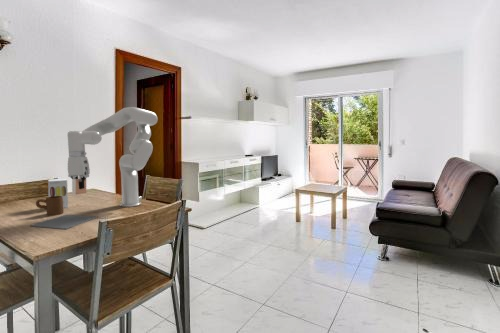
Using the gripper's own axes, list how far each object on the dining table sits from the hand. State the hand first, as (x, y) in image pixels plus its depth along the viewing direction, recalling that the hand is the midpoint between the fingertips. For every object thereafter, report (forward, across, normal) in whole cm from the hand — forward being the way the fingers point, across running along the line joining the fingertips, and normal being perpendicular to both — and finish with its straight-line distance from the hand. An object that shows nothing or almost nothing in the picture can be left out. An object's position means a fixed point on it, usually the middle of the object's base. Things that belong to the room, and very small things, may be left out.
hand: (79, 188), depth 153 cm
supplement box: (+15, +25, -10) cm, 31 cm away
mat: (+14, -4, +14) cm, 20 cm away
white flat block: (+3, 0, 0) cm, 3 cm away
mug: (+14, +15, +5) cm, 22 cm away
